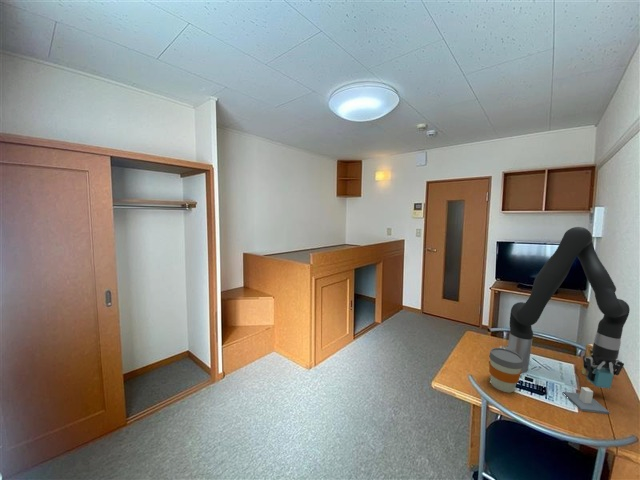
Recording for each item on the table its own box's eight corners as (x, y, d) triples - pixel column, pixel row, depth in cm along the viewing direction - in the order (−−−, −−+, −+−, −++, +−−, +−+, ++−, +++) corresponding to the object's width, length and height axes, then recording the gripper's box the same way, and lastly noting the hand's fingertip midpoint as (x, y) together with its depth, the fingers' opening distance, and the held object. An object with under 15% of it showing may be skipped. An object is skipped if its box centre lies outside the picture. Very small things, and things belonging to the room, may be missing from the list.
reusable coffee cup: (479, 380, 126) (483, 350, 124) (497, 374, 131) (501, 345, 129) (507, 398, 114) (512, 365, 112) (525, 391, 119) (530, 359, 117)
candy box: (609, 383, 126) (615, 353, 124) (602, 385, 125) (608, 354, 123) (587, 372, 135) (592, 343, 132) (580, 373, 134) (585, 344, 131)
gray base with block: (581, 410, 108) (583, 396, 108) (562, 393, 118) (564, 380, 117) (609, 414, 107) (612, 399, 106) (588, 396, 117) (590, 383, 116)
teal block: (596, 386, 115) (599, 372, 114) (586, 379, 120) (589, 365, 119) (610, 388, 114) (613, 374, 113) (599, 380, 119) (602, 367, 118)
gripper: (594, 347, 112) (586, 384, 114) (634, 351, 110) (626, 389, 112) (580, 338, 119) (573, 373, 122) (617, 342, 117) (610, 378, 119)
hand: (598, 381), depth 117 cm, fingers closed on teal block, 5 cm apart
